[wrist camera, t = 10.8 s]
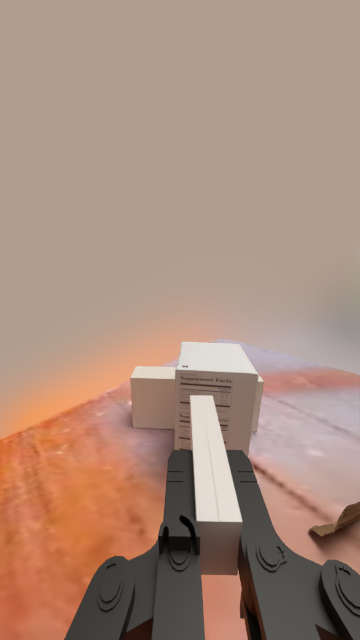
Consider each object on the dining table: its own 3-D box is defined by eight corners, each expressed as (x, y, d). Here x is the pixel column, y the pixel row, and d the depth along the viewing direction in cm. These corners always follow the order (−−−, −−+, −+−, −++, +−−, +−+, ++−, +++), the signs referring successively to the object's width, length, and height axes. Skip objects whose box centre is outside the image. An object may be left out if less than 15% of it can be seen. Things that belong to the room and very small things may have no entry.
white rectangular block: (256, 431, 33) (263, 381, 31) (132, 427, 34) (130, 377, 31) (249, 415, 37) (254, 369, 35) (138, 411, 37) (136, 366, 35)
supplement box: (245, 495, 24) (262, 375, 20) (172, 487, 24) (173, 370, 20) (231, 432, 33) (240, 342, 29) (178, 428, 34) (180, 339, 29)
